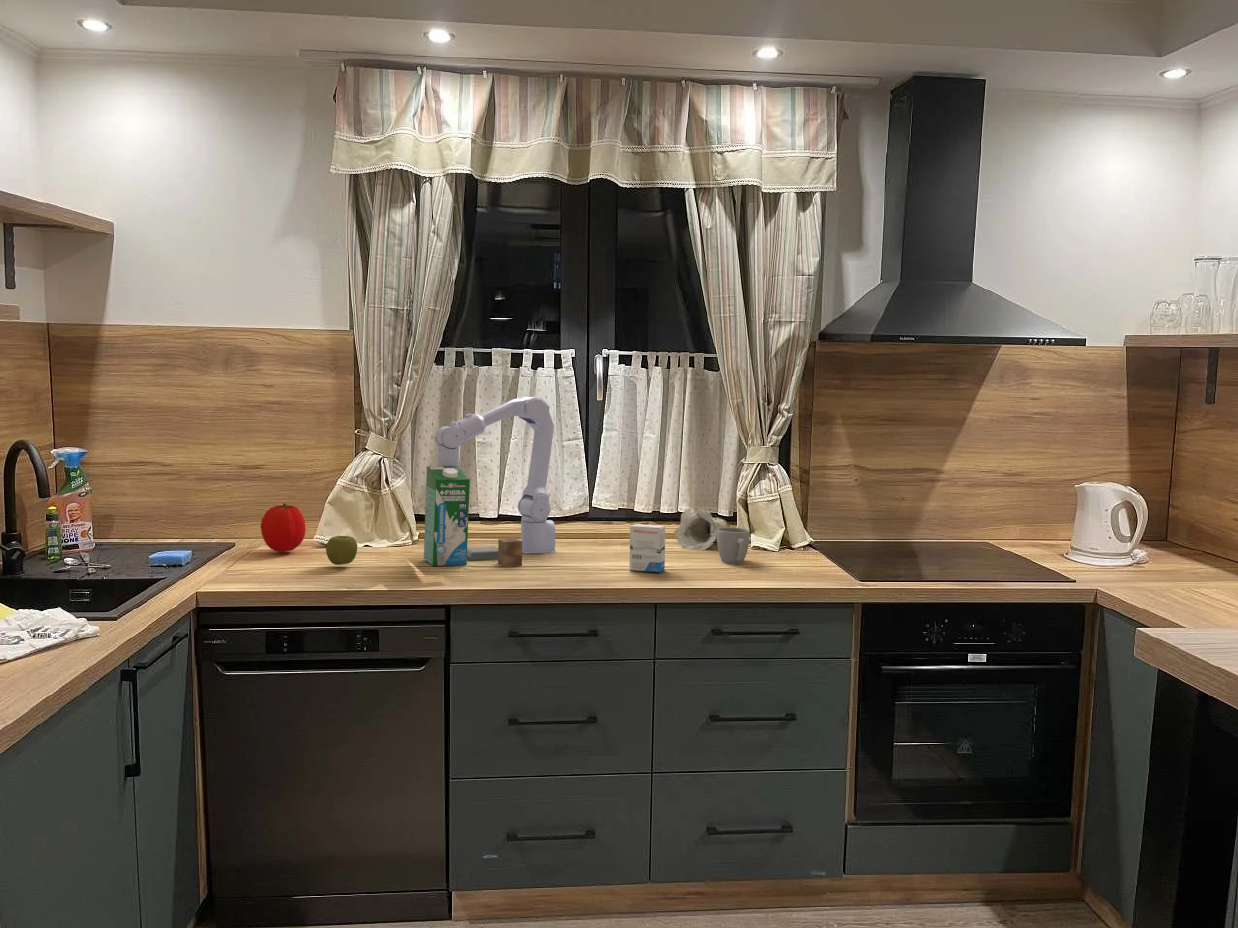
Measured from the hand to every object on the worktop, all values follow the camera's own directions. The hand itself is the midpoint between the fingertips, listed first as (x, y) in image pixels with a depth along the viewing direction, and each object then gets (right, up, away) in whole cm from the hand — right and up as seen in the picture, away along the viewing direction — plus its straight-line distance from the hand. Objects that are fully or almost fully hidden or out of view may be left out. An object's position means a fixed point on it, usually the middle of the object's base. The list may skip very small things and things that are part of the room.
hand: (447, 520), depth 252 cm
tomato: (-46, -9, +3) cm, 47 cm away
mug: (+78, -13, +1) cm, 79 cm away
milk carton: (0, -11, -6) cm, 12 cm away
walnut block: (+18, -11, -6) cm, 22 cm away
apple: (-25, -11, -12) cm, 30 cm away
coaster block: (+9, -11, +3) cm, 14 cm away
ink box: (+54, -13, -8) cm, 56 cm away
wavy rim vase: (+70, -13, +21) cm, 74 cm away
